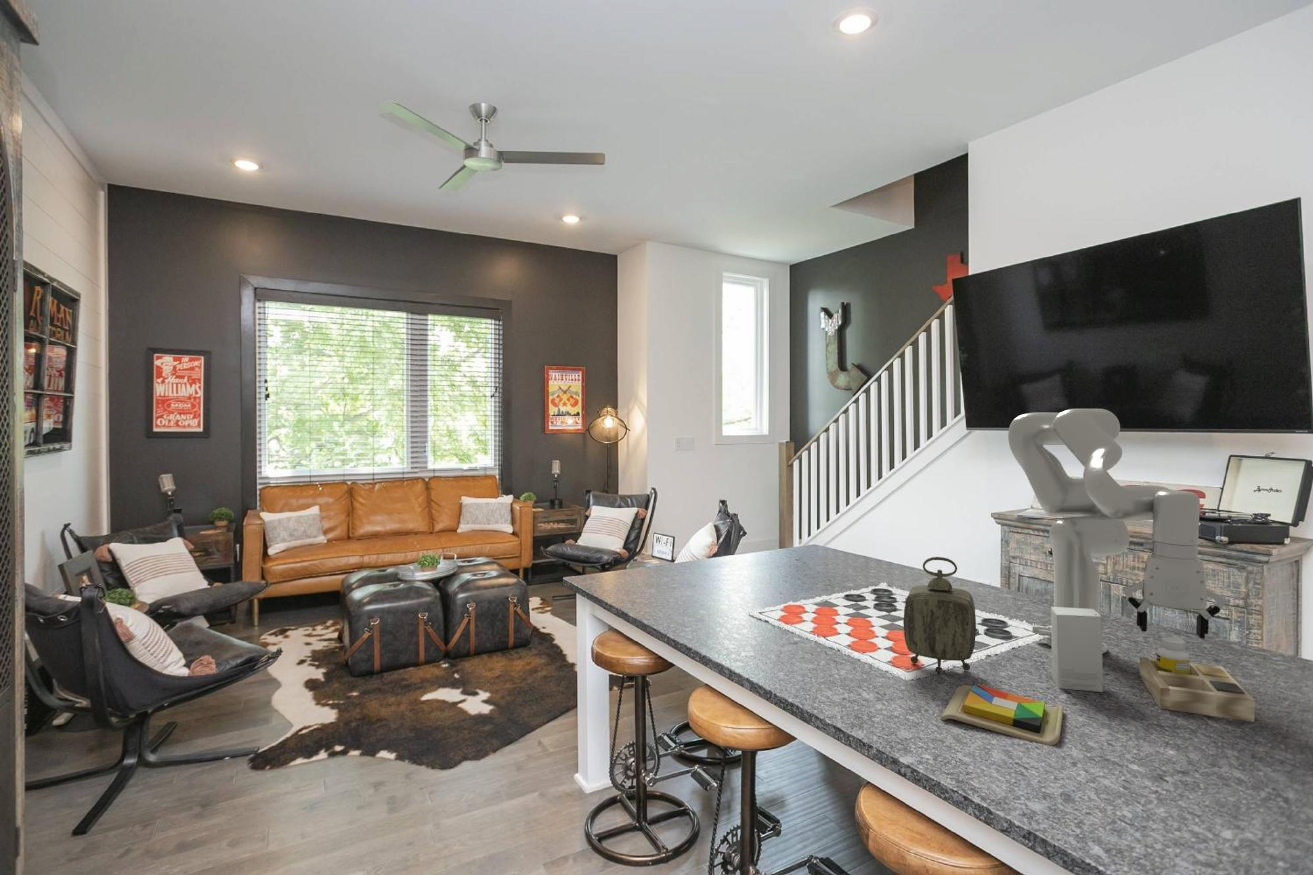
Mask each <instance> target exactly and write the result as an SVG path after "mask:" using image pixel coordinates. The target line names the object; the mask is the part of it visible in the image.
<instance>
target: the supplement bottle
mask: <svg viewBox="0 0 1313 875" xmlns="http://www.w3.org/2000/svg"><path fill="white" fill-rule="evenodd" d="M1160 640H1161V641H1160V644H1161V646H1162V647H1158V649H1157V651H1156V659H1157V671H1162V672H1170V673H1178V674H1186V675H1190V663H1191V662H1190V659H1191V657H1190V654H1189V653H1188V651H1186V650H1185V649H1186V641H1185V640H1184V639H1181V638H1178V637H1171V636H1163V637H1161V638H1160Z"/></svg>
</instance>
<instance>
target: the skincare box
mask: <svg viewBox="0 0 1313 875" xmlns="http://www.w3.org/2000/svg"><path fill="white" fill-rule="evenodd" d="M1050 624H1051V625H1050V626H1051V639H1052V647H1051V679H1052V680H1053V682H1054V683H1055V685H1056V687H1057V688H1058V689H1059V690H1060V689H1061V690H1075V691H1085V692H1095V693H1103V692H1104V684H1103V683H1104V678H1103V654H1102V643H1103V617H1102V615H1101V614H1100V615H1099V614H1098V613H1097V612H1096V611H1095V610H1094V609H1086V608H1065V607H1054V606H1051V607H1050Z"/></svg>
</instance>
